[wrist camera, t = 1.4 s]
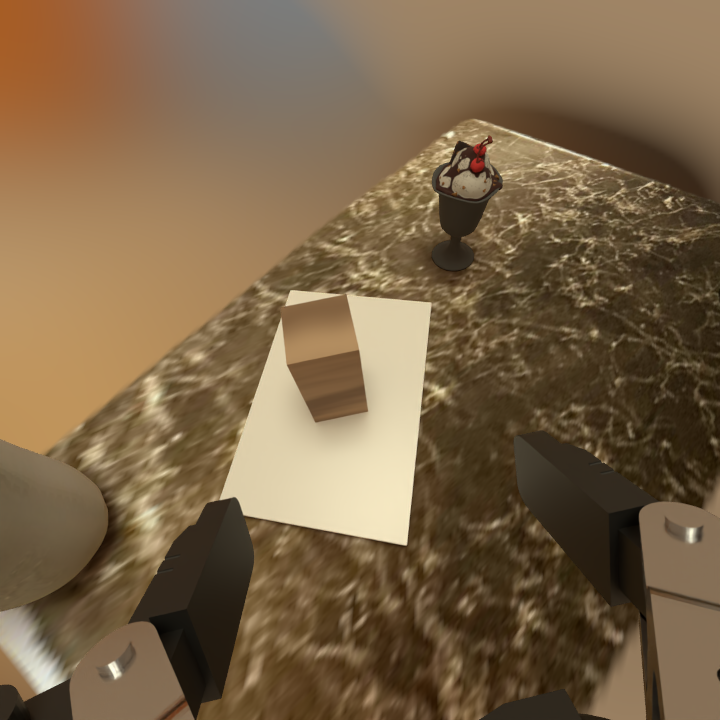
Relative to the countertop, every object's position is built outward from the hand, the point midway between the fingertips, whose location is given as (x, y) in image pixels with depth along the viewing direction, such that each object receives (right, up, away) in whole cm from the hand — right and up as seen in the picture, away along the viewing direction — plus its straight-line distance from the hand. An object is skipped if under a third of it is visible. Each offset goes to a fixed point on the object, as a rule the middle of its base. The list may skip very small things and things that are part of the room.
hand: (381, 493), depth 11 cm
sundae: (+11, +16, +34) cm, 39 cm away
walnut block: (-3, +1, +25) cm, 26 cm away
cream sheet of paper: (-3, 0, +26) cm, 26 cm away
